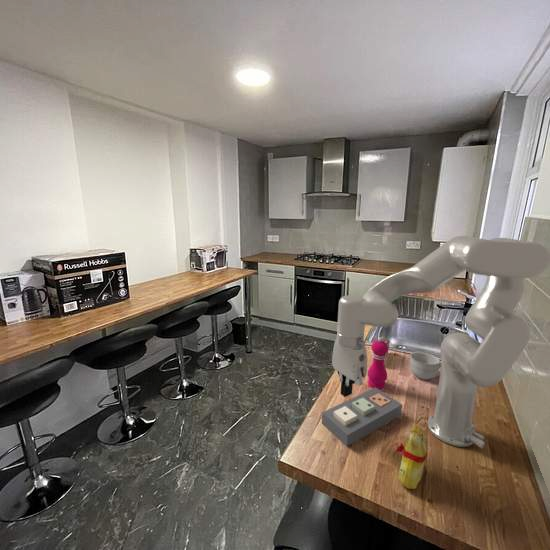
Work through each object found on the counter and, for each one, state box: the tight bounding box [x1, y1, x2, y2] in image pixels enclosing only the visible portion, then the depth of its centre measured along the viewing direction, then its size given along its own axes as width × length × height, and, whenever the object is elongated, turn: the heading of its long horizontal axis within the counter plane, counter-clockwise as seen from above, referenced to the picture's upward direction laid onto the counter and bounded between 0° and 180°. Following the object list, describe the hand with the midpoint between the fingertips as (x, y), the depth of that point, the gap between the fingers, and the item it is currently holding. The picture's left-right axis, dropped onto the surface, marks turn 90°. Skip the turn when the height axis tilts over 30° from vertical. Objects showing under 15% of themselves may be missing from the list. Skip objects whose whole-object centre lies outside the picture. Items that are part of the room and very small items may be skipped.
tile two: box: [352, 398, 375, 417], centre depth 94 cm, size 5×5×4 cm
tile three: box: [369, 393, 391, 407], centre depth 99 cm, size 5×5×4 cm
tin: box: [383, 338, 391, 356], centre depth 131 cm, size 15×3×8 cm, turn 144°
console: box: [321, 387, 403, 448], centre depth 95 cm, size 11×25×4 cm, turn 122°
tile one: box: [333, 406, 357, 427], centre depth 90 cm, size 5×5×4 cm
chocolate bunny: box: [394, 424, 428, 490], centre depth 74 cm, size 7×11×15 cm, turn 140°
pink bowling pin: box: [366, 337, 389, 391], centre depth 111 cm, size 7×7×20 cm
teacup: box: [409, 351, 441, 380], centre depth 118 cm, size 14×11×8 cm
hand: (346, 394), depth 88 cm, fingers closed
